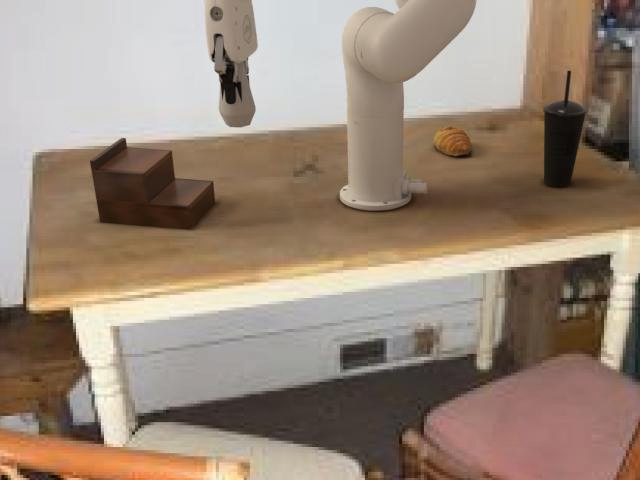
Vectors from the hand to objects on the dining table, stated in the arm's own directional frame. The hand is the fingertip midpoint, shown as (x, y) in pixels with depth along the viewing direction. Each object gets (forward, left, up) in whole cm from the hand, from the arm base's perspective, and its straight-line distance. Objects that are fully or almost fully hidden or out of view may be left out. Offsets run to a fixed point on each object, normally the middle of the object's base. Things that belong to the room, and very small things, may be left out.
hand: (237, 103), depth 147 cm
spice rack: (+15, +1, -19) cm, 25 cm away
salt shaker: (0, 0, -4) cm, 4 cm away
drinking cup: (-51, -27, -19) cm, 60 cm away
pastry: (-30, -42, -19) cm, 55 cm away
